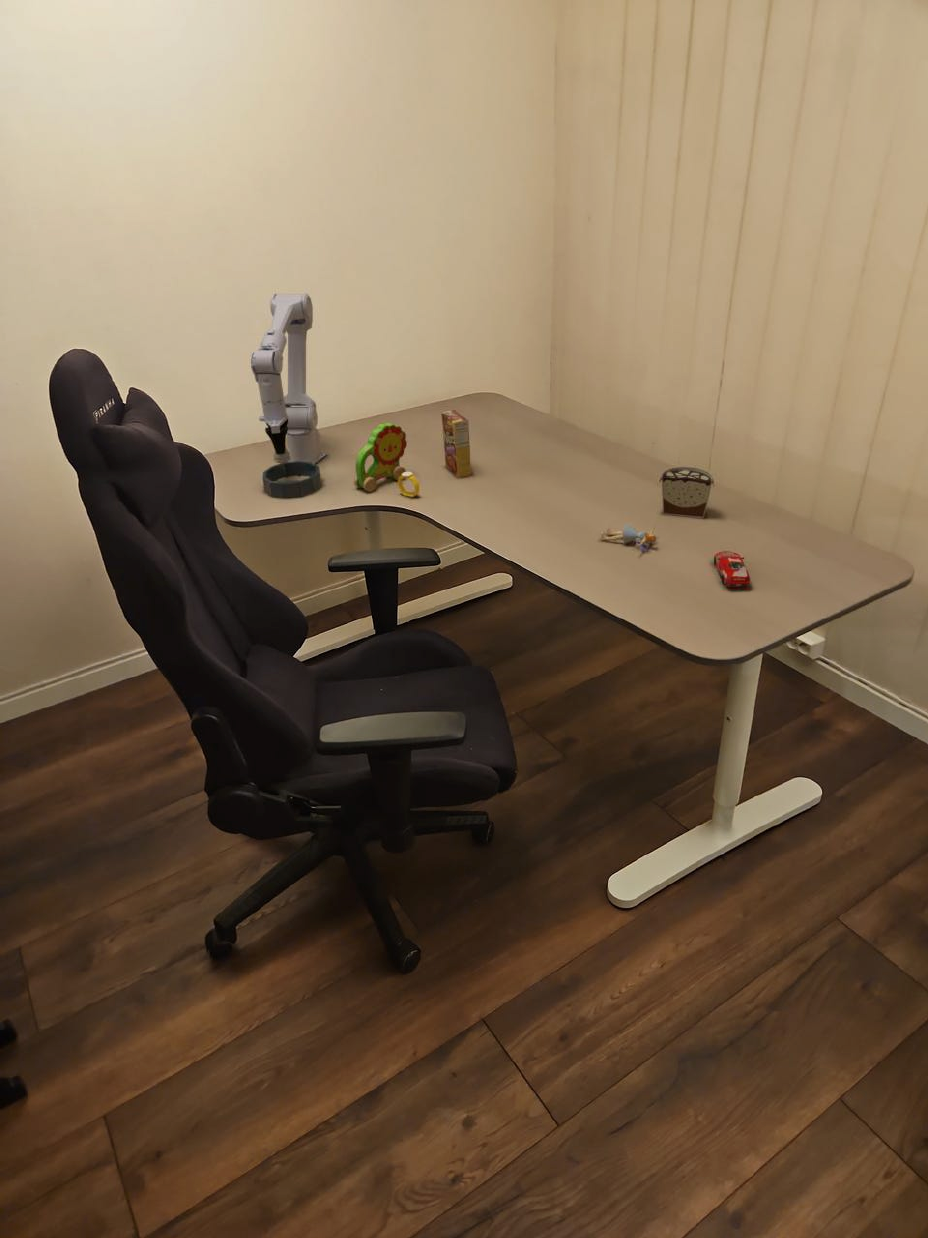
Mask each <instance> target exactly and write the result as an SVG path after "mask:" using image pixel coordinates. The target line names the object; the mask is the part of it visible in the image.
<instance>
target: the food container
mask: <svg viewBox="0 0 928 1238" xmlns="http://www.w3.org/2000/svg"><path fill="white" fill-rule="evenodd" d="M659 483H661V489H662V490H661V492H662V493H661V494H662V495H661V496H662V515H667V516H668V515H669V516H677V517H688V518H697V519H704V518H705V515H706V510H707V507H708V506H707V505H708V502H709V498H710V493H711V489H712V488H714V487H715V480H714V477H713V475H712V473H710V472H709V471H707V470H705V469H703V468H698V467H693V466H692V467H691V466H678V467H671V468H668V469H666V470H664V471H663V472H662V474H661V476H660V478H659Z"/></svg>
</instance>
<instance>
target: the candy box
mask: <svg viewBox="0 0 928 1238" xmlns="http://www.w3.org/2000/svg"><path fill="white" fill-rule="evenodd" d="M441 423H442V425H441V426H442V438H443V451H444V465H445V467H446V468H447V469H448V471H450V472H451V473H452V474H453V475H454V476H455V477H456V478H457V479H459V478H464V477H468V476H471V475H472V468H471V449H470V448H471V446H470V445H471V444H470V430H469V429H470V428H469V419H467V418H466V417H465V416H463V415H462V414H460V413H459V412H458V411H456V410H455V409H453V410H448V411H447V410H446V411H443V412H441Z"/></svg>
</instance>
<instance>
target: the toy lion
mask: <svg viewBox="0 0 928 1238" xmlns="http://www.w3.org/2000/svg"><path fill="white" fill-rule="evenodd" d="M406 438H407V433H406V432H405V431H404V430H403V429H402V427H401V426H399V425H396V424H394V423H391V422H385V423H380V424H378V425H377V426H376V428H375V429H373V430H372V431H371V434H370V437H368V440H367V444H366V445H365V446H363V447H362V448H361V449H360V451H358V452H359V453H358V454H357V456H356V459H355V460H356V461H355V476H354V478H353V479H354V480H353V484H354V486H355V487H357V488H359V489H363V490H365V491H366V492H368V493H369V492H370V493H371V492H374V491H375V490H376V488H377V485H378V481H380V480H382V479H385V478H393V479H394V480H397V481H398V480H399V477H400V476H402V473H404V472H407V471H406V469H405V467H403V466H401V465H400V460H401V458H402V457H403V456H404V454H405V449H406V448H407V447H408V445H407V444H408V442H407V439H406ZM370 456H372V457H373V462H372V464H371V465H370V466H369V468H368V469H367V470H366V461H367V459H368V458H369V457H370Z"/></svg>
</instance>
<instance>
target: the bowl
mask: <svg viewBox="0 0 928 1238" xmlns="http://www.w3.org/2000/svg"><path fill="white" fill-rule="evenodd" d="M261 479H262V485H263V490H264V493H266V494H267V495H268V496H270V497H272V498H279V499H293V498H294V499H295V498H302V497H305V496H308V495H311V494H314V493H316V491H318V490H319V489H320V488H322V477H321V469H320V466H319V465H317V464H316V463H315V464H313V463H311V462H302V461H295V462H285V463H277V464H274V465H272V466H270V467H267V469H265V470H264V471H263V472H262V478H261Z"/></svg>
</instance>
